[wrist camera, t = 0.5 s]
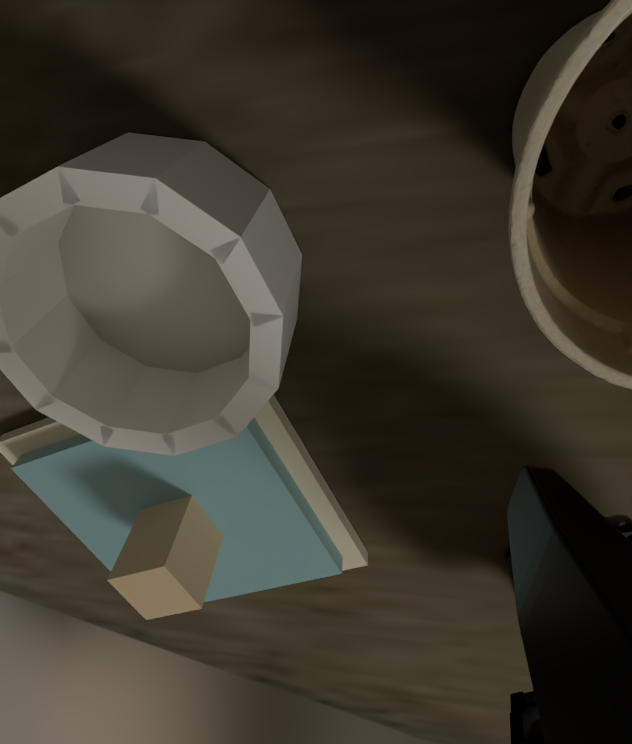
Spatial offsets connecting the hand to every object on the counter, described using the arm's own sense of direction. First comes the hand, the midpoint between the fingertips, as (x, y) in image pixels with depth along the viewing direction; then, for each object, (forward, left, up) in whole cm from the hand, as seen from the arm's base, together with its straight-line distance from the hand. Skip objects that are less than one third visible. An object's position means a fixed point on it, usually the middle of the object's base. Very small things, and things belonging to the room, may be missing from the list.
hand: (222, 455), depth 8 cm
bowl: (0, +6, -13) cm, 15 cm away
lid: (-11, +12, -13) cm, 21 cm away
